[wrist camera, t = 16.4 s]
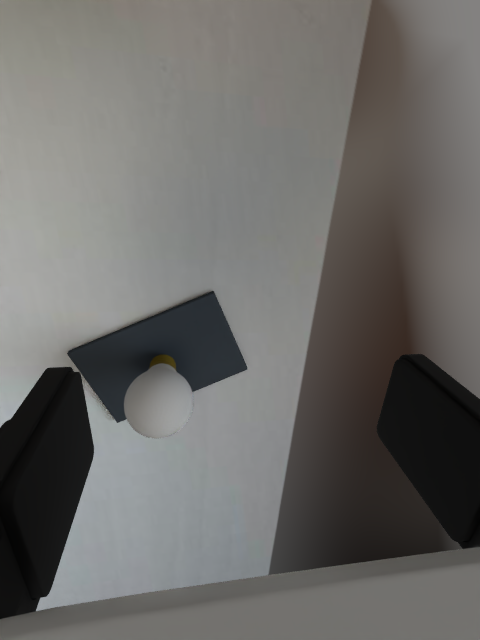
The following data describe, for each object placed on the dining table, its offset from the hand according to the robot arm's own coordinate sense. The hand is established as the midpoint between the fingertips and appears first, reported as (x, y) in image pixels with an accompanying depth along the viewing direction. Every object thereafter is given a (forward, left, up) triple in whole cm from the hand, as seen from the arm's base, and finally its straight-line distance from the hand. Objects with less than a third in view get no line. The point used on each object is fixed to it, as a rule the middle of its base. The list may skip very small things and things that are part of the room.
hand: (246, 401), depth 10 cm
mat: (+9, +10, -24) cm, 27 cm away
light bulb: (+9, +10, -24) cm, 27 cm away
